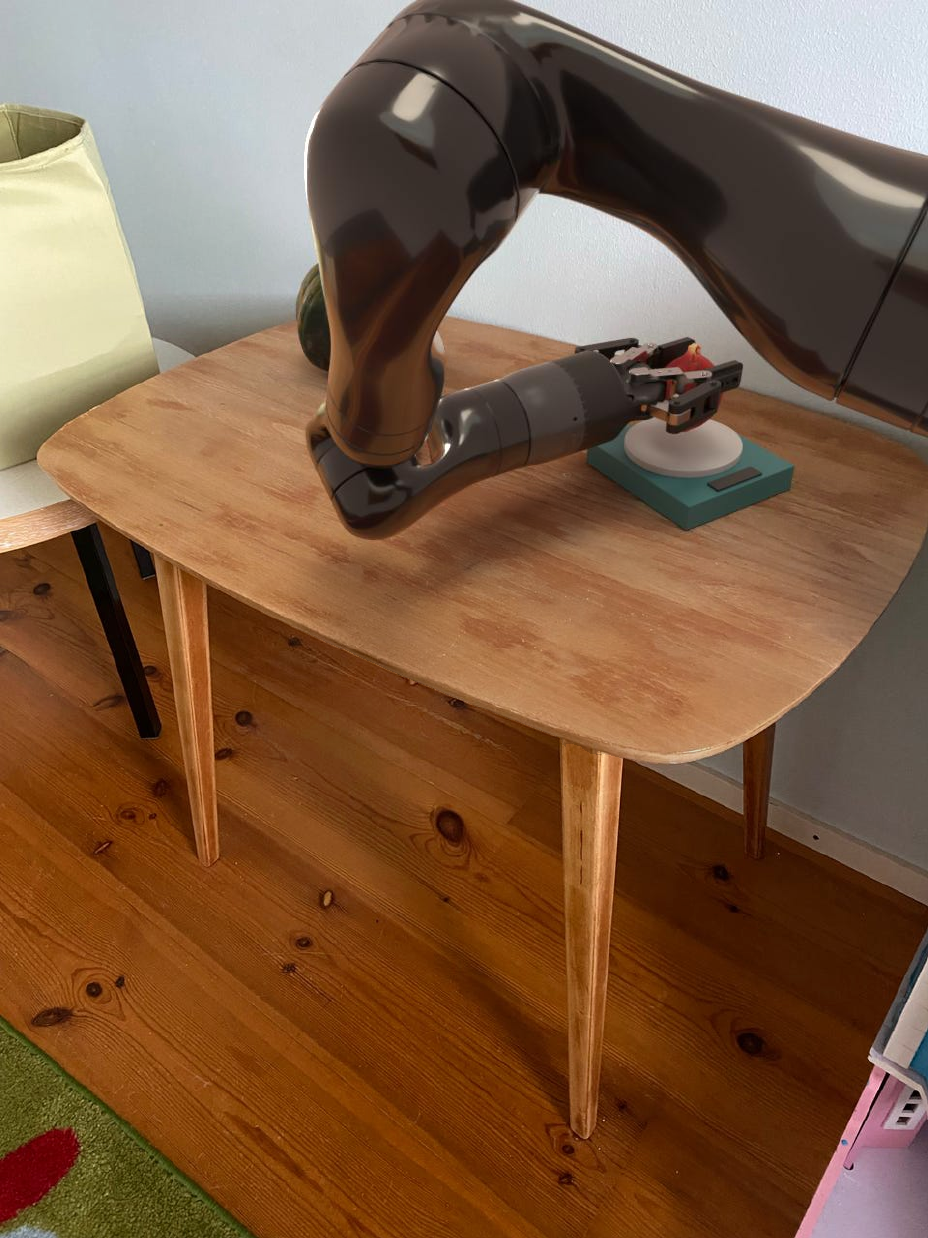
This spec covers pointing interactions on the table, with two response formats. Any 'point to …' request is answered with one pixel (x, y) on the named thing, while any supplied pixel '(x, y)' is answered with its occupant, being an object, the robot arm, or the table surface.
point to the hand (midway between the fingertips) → (714, 360)
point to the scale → (691, 470)
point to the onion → (688, 364)
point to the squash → (313, 320)
